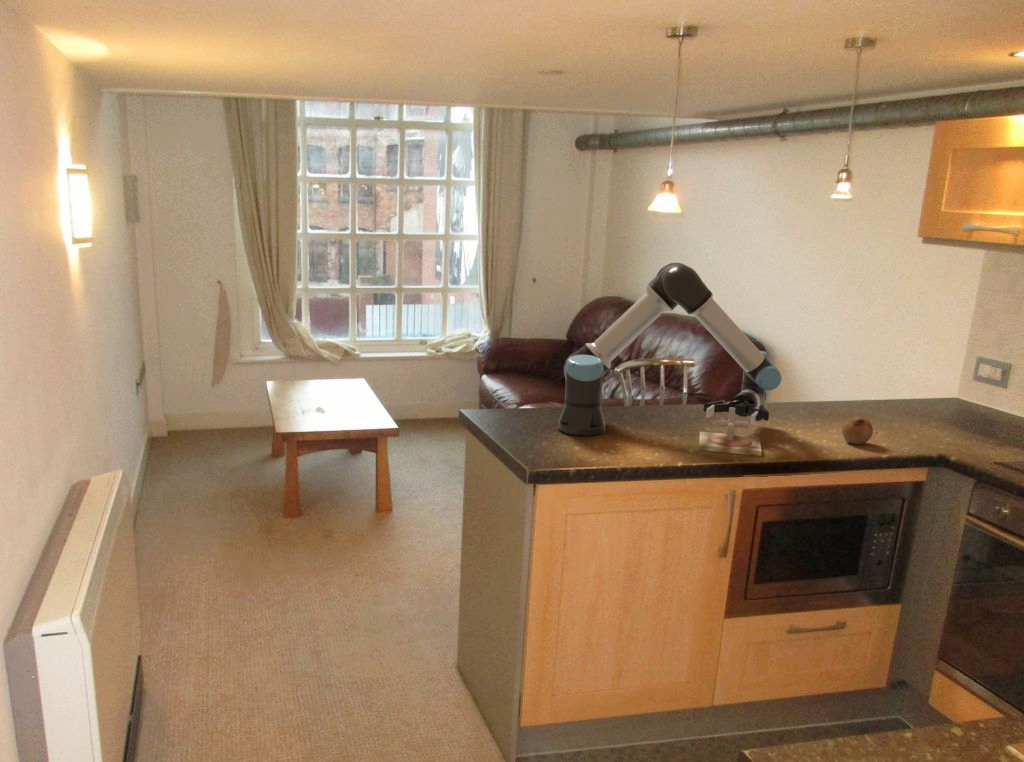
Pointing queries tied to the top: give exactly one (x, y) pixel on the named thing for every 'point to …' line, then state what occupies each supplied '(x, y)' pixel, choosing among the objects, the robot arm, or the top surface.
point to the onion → (857, 430)
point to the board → (730, 443)
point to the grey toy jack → (730, 423)
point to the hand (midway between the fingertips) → (729, 416)
